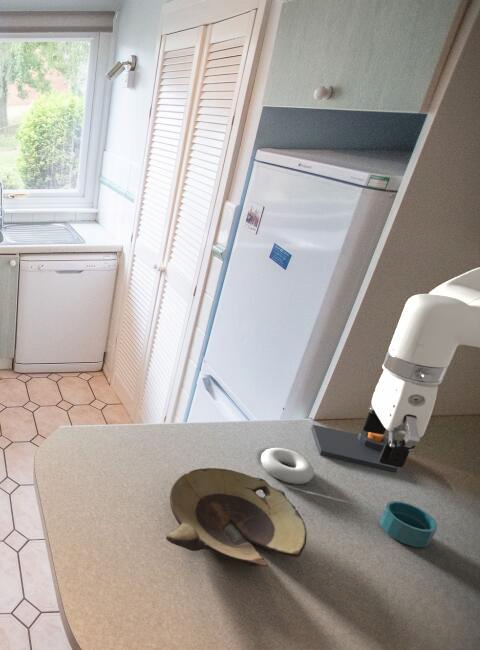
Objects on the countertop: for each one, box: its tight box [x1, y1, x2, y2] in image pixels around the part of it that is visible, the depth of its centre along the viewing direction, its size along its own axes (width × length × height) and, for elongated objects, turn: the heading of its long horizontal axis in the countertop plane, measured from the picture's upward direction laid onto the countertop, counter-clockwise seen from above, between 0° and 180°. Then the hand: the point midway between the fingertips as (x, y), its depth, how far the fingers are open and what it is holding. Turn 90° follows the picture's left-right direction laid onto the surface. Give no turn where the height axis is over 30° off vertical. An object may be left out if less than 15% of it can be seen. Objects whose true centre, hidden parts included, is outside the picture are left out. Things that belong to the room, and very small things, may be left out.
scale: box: [310, 424, 399, 474], centre depth 108 cm, size 14×11×3 cm
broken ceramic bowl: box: [165, 467, 308, 568], centre depth 87 cm, size 22×30×8 cm
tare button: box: [367, 432, 384, 442], centre depth 108 cm, size 3×3×2 cm
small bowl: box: [378, 500, 439, 548], centre depth 86 cm, size 7×7×4 cm
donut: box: [260, 447, 315, 485], centre depth 102 cm, size 10×4×10 cm
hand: (380, 447), depth 83 cm, fingers open, 9 cm apart
